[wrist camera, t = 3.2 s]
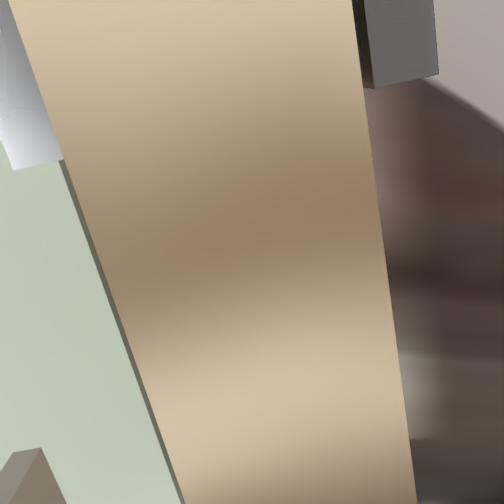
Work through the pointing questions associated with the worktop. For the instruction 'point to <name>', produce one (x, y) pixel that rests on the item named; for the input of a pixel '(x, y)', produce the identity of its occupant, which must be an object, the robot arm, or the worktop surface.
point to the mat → (70, 352)
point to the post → (369, 49)
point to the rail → (236, 235)
